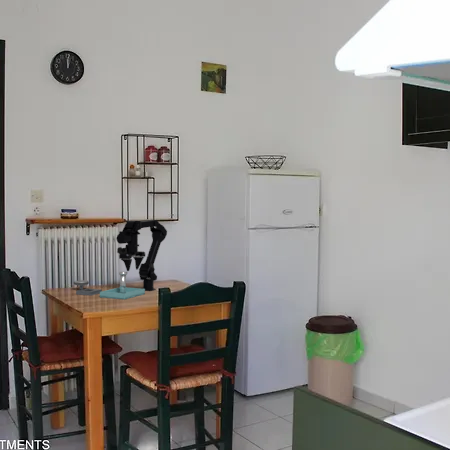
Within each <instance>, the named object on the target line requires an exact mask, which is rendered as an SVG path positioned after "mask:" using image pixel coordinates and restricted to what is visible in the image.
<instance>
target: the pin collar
mask: <svg viewBox="0 0 450 450" xmlns="http://www.w3.org/2000/svg"><path fill="white" fill-rule="evenodd" d="M101 291H103V290H102V289H100V288H99V289H98V288H83V289H82V290H80V289H78V290H76V291H75V295H80V296H94V295H95V296H96V295H98V294H99V295H100V292H101Z"/></svg>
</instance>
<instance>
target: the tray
mask: <svg viewBox="0 0 450 450" xmlns="http://www.w3.org/2000/svg"><path fill="white" fill-rule="evenodd" d="M145 294H146V291H145V289H143V288H139V287H138V288H136V287H127V286H126V293H120V286H119V287H115V288H110V289H107V290H102V291H101V292H100V294H99V298H101V299H102V298H103V299H104V298H105V299H115V300H127V299H128V300H129V299H132V298H135V297H139V296H144V295H145Z"/></svg>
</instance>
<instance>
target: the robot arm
mask: <svg viewBox="0 0 450 450" xmlns="http://www.w3.org/2000/svg"><path fill="white" fill-rule="evenodd" d="M143 228H144V229H145V228H149V230H150V232H151V238H152V240H151V241H152V242H151V244H150V247H149V251H148V253H147V256H146V252H145V251H142V250H140V251H139V247H140V244H139V243H138V238H139V236H138V235H141V233H140V232H139V230H142V229H143ZM167 234H168V230H167V229H166V227H165V226H164V225H162V224H161V223H159V221H158V220H157V219H149V220H141V221H140V220H126V223H125V225H124V227H123V229H122V231H119V233H118V234H117V235H116V241H117V243H118V244H120V245H121V244H125V247H123V248H122V246H120V247H117V248H116V249H117V251H116V253H117V254H119V255H118V257H119V259H120V261H122V262H123V264H124V266H125V269H126V272H129V271H130V269H131V265H132V261H133V260H134V263H135V270H138V274H139V279H140V280H142V281H143V283H142V285H143V287H142V289H145V292H153V291H157V289H156V288H154V283H155V281H157V279H158V275H157V273H155V270H156V269H155V265H154V264H155V261H156V258H157V256H158V253H159V250H160V246H161V244H162V242H163V241H164V240H165V239H166V237H167ZM145 257H146V259H145V262H143V260H144V258H145ZM142 262H143V263H142Z"/></svg>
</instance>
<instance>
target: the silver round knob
mask: <svg viewBox="0 0 450 450" xmlns="http://www.w3.org/2000/svg"><path fill="white" fill-rule="evenodd" d="M89 284H90V281H89V280H84V279H83V280H82V279H80V280H74V281H73V285H74V286H79V290H82V289H84V286H88V285H89Z"/></svg>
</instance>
